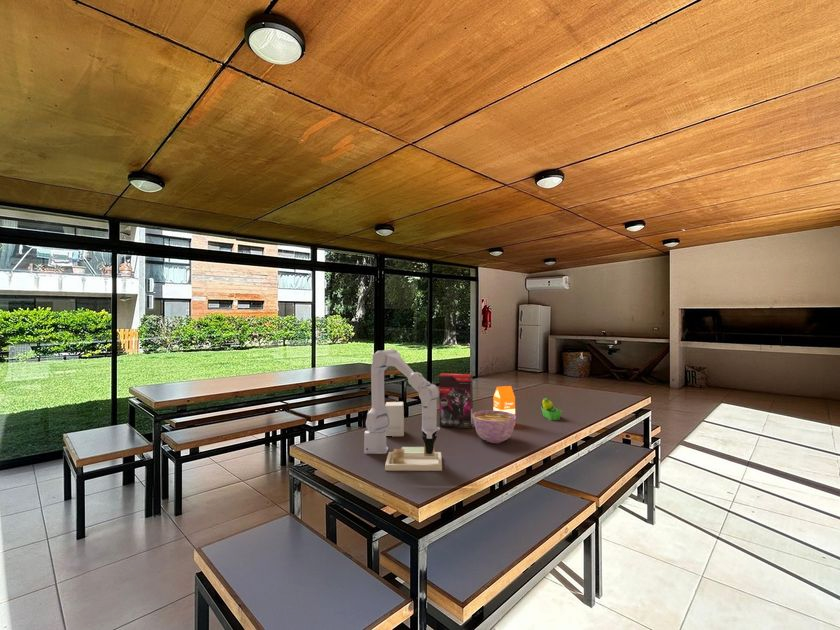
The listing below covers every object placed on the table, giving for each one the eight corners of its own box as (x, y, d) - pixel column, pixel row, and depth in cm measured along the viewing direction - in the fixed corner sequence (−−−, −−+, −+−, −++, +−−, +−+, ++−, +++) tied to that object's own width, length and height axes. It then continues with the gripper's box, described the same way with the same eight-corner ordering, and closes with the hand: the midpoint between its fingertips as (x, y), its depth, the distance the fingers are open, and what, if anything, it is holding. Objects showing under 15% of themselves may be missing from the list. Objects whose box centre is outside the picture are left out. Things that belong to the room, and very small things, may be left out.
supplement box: (404, 431, 199) (403, 401, 199) (403, 436, 190) (403, 405, 190) (385, 431, 199) (385, 401, 199) (384, 436, 190) (384, 405, 190)
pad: (400, 456, 163) (400, 454, 163) (402, 448, 173) (402, 446, 173) (429, 456, 163) (429, 455, 163) (429, 448, 173) (429, 446, 173)
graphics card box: (438, 427, 206) (438, 374, 206) (441, 423, 213) (441, 372, 213) (471, 429, 201) (471, 375, 201) (473, 426, 208) (473, 373, 208)
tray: (385, 471, 147) (385, 464, 147) (388, 458, 161) (388, 452, 161) (442, 471, 147) (442, 465, 147) (440, 458, 161) (440, 452, 161)
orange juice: (493, 422, 214) (493, 385, 214) (507, 421, 216) (507, 384, 216) (500, 426, 206) (500, 388, 206) (515, 425, 209) (515, 387, 209)
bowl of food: (464, 436, 189) (464, 412, 189) (501, 432, 196) (500, 408, 196) (486, 450, 171) (486, 423, 171) (525, 444, 178) (525, 418, 178)
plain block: (393, 465, 152) (393, 452, 152) (394, 461, 156) (394, 448, 156) (403, 465, 152) (403, 452, 152) (404, 461, 156) (404, 448, 156)
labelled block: (424, 456, 152) (424, 442, 152) (424, 452, 156) (424, 439, 156) (434, 456, 152) (434, 442, 152) (434, 452, 156) (434, 439, 156)
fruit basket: (562, 420, 218) (562, 399, 218) (547, 421, 216) (547, 400, 216) (552, 415, 229) (552, 395, 229) (538, 415, 228) (538, 396, 228)
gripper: (440, 421, 147) (440, 458, 147) (439, 411, 161) (439, 445, 161) (421, 421, 147) (421, 458, 147) (421, 411, 161) (421, 445, 161)
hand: (429, 451), depth 154 cm, fingers closed on labelled block, 4 cm apart
